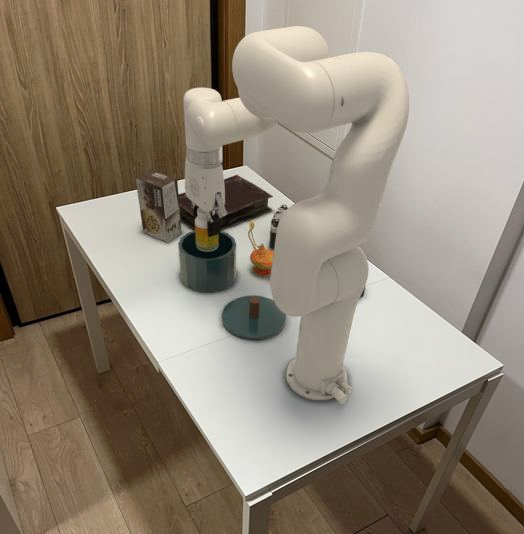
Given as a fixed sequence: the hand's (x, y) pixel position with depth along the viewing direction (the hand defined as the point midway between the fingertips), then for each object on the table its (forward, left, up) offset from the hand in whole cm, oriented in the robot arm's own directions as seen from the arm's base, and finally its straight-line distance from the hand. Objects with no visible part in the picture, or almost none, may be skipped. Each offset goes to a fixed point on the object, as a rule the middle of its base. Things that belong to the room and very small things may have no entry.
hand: (207, 228), depth 124 cm
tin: (0, 0, -14) cm, 14 cm away
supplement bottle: (0, 0, -5) cm, 5 cm away
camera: (+3, -27, -14) cm, 31 cm away
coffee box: (+24, 0, -14) cm, 28 cm away
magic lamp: (-7, -13, -14) cm, 20 cm away
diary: (+25, -20, -14) cm, 35 cm away
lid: (-20, 0, -13) cm, 24 cm away
